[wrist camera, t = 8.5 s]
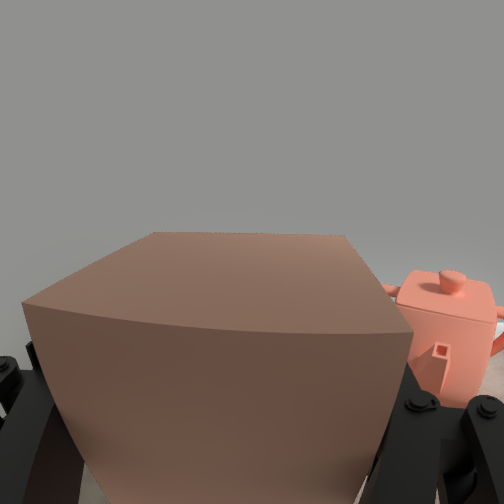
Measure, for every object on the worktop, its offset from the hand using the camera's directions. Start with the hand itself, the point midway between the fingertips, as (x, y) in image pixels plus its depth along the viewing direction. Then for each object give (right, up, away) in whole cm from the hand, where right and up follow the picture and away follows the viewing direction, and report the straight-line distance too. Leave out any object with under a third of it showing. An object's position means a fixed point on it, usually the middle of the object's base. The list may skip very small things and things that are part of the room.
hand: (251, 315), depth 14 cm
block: (-1, -7, -3) cm, 8 cm away
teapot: (+21, -14, +18) cm, 31 cm away
